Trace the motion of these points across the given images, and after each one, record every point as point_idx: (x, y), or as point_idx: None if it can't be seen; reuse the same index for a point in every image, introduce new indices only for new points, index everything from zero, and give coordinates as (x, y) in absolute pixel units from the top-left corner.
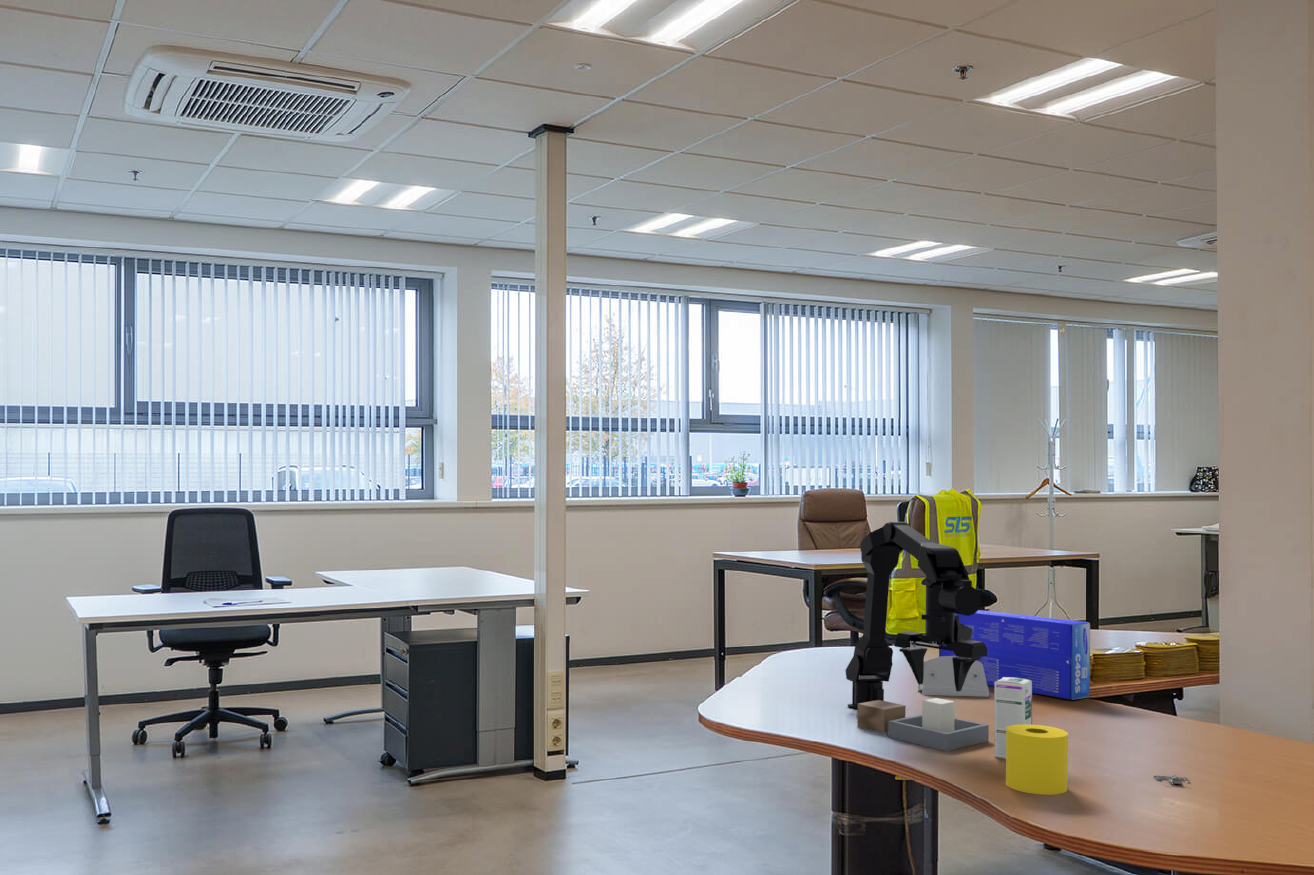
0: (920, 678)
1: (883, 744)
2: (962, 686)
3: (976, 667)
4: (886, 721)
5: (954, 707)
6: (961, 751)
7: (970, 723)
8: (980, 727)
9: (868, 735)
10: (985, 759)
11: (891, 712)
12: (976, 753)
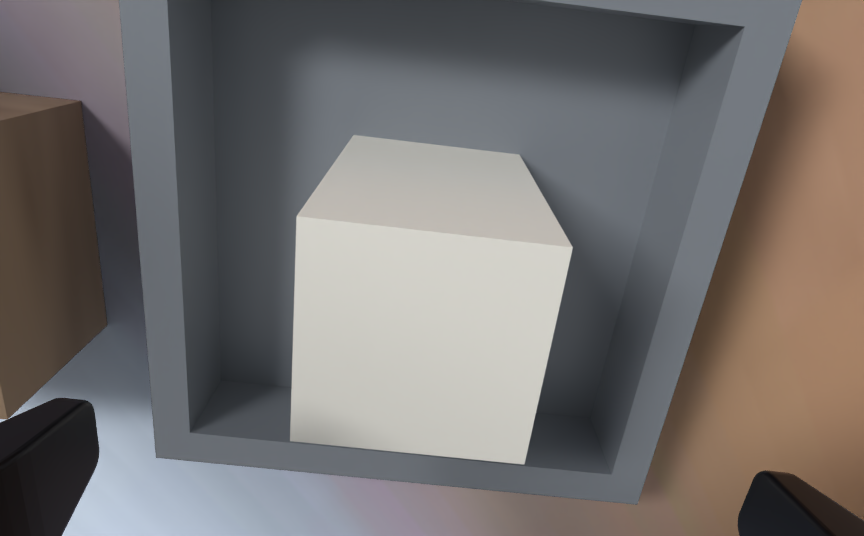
0: (48, 514)
1: (294, 528)
2: (852, 520)
3: None
4: (63, 342)
5: (559, 227)
6: (677, 383)
7: (621, 11)
8: (759, 119)
9: (103, 432)
10: (845, 439)
11: (16, 319)
12: (766, 364)
